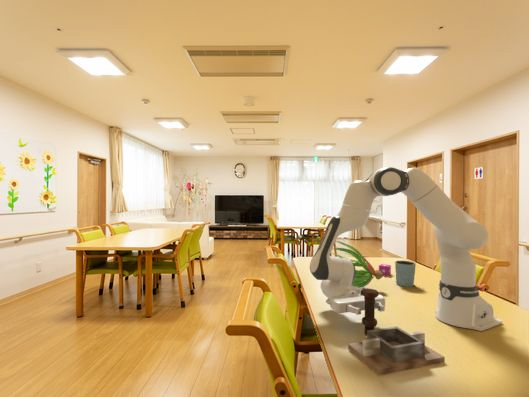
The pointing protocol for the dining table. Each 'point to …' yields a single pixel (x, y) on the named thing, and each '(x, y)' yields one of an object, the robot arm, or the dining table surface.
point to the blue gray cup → (405, 273)
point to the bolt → (369, 309)
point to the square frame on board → (394, 350)
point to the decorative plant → (361, 274)
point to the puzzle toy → (385, 269)
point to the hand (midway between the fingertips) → (371, 310)
